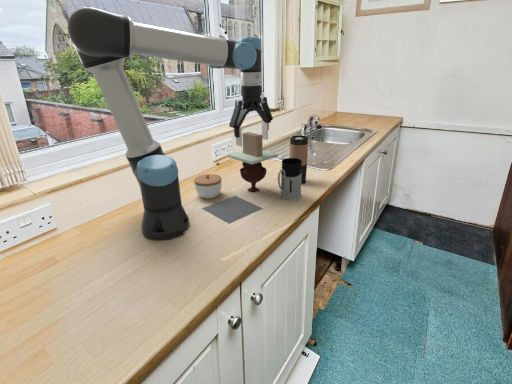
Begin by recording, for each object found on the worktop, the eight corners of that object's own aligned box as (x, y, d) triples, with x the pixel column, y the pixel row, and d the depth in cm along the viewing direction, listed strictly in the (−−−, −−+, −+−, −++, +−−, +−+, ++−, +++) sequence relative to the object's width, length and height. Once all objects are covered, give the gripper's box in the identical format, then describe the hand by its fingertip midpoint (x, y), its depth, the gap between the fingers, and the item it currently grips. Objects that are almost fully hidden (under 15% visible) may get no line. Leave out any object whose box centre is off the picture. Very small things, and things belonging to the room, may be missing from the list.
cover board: (251, 164, 116) (251, 140, 112) (227, 156, 125) (226, 134, 122) (277, 156, 124) (278, 133, 121) (253, 150, 134) (253, 128, 130)
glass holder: (305, 195, 126) (307, 159, 120) (288, 209, 115) (289, 170, 109) (286, 190, 131) (287, 156, 125) (268, 203, 120) (268, 166, 114)
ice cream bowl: (264, 197, 125) (264, 161, 119) (237, 195, 127) (235, 160, 121) (268, 187, 134) (268, 153, 129) (243, 185, 137) (242, 152, 131)
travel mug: (309, 183, 138) (311, 138, 130) (293, 186, 135) (295, 140, 127) (300, 177, 144) (302, 134, 136) (285, 180, 142) (286, 136, 134)
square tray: (229, 225, 105) (228, 223, 105) (201, 209, 116) (201, 208, 116) (263, 209, 115) (263, 208, 115) (235, 197, 126) (235, 195, 126)
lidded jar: (190, 199, 125) (187, 177, 121) (205, 189, 133) (203, 168, 130) (213, 204, 120) (211, 181, 117) (227, 193, 129) (226, 172, 126)
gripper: (230, 88, 104) (233, 150, 112) (282, 82, 119) (281, 138, 128) (217, 86, 109) (221, 146, 117) (268, 81, 124) (268, 135, 133)
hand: (252, 142), depth 122 cm, fingers open, 13 cm apart
